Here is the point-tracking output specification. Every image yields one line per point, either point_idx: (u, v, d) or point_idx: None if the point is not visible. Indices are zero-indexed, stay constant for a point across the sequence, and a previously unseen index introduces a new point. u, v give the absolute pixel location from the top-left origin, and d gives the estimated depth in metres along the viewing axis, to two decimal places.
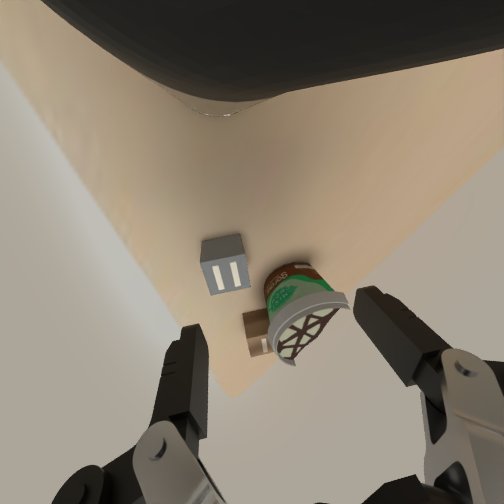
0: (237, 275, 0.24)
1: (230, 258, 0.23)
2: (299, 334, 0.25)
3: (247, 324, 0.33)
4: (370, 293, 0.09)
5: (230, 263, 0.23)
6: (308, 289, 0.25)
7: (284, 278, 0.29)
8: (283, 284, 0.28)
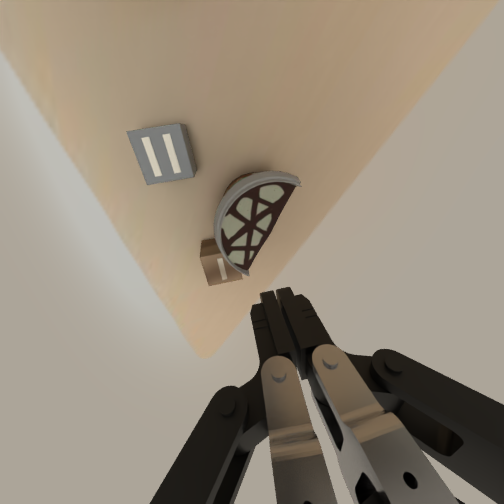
0: (174, 156, 0.21)
1: (162, 128, 0.20)
2: (248, 228, 0.22)
3: (204, 247, 0.30)
4: (282, 294, 0.10)
5: (163, 135, 0.20)
6: None
7: (238, 181, 0.25)
8: (235, 184, 0.25)
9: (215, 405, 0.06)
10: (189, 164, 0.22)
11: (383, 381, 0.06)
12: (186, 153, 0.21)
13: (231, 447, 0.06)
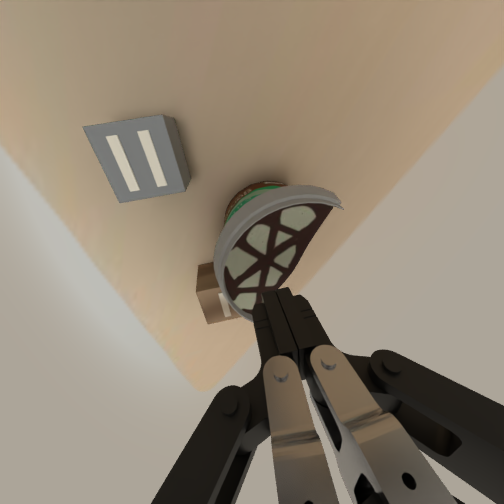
0: (156, 163, 0.15)
1: (137, 122, 0.13)
2: (263, 265, 0.15)
3: (201, 276, 0.23)
4: (281, 294, 0.10)
5: (139, 133, 0.14)
6: None
7: (246, 194, 0.19)
8: (243, 199, 0.18)
9: (217, 404, 0.06)
10: (178, 174, 0.15)
11: (381, 382, 0.06)
12: (174, 158, 0.15)
13: (234, 447, 0.06)
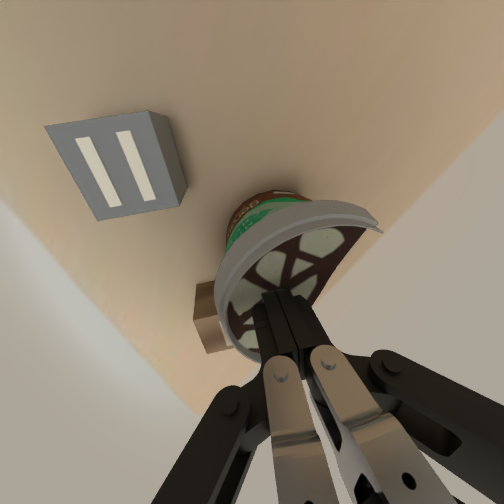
0: (141, 172, 0.12)
1: (115, 120, 0.10)
2: None
3: (200, 299, 0.20)
4: (281, 294, 0.10)
5: (118, 134, 0.11)
6: None
7: (253, 206, 0.16)
8: (249, 213, 0.15)
9: (217, 404, 0.06)
10: (170, 185, 0.12)
11: (381, 382, 0.06)
12: (164, 166, 0.12)
13: (234, 447, 0.06)
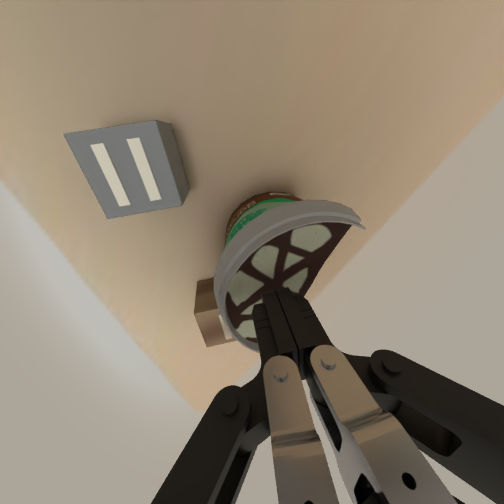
0: (148, 174, 0.13)
1: (126, 128, 0.12)
2: (270, 290, 0.14)
3: (200, 294, 0.21)
4: (281, 294, 0.10)
5: (128, 141, 0.12)
6: None
7: (250, 207, 0.17)
8: (246, 213, 0.16)
9: (217, 405, 0.06)
10: (174, 186, 0.14)
11: (381, 382, 0.06)
12: (169, 169, 0.13)
13: (234, 447, 0.06)
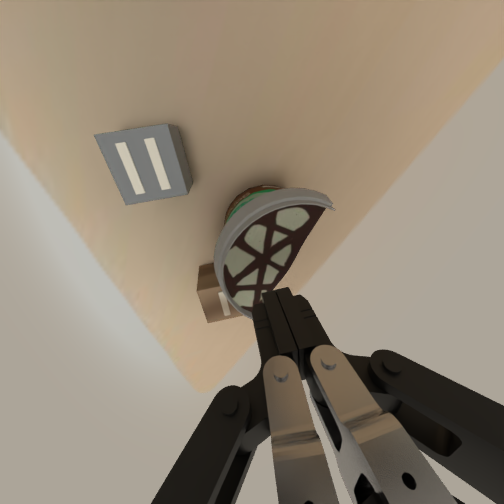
0: (160, 168, 0.16)
1: (143, 130, 0.15)
2: (260, 263, 0.16)
3: (202, 276, 0.24)
4: (281, 294, 0.10)
5: (145, 140, 0.15)
6: None
7: (245, 197, 0.20)
8: (242, 202, 0.19)
9: (217, 405, 0.06)
10: (181, 178, 0.16)
11: (381, 382, 0.06)
12: (177, 164, 0.16)
13: (234, 448, 0.06)
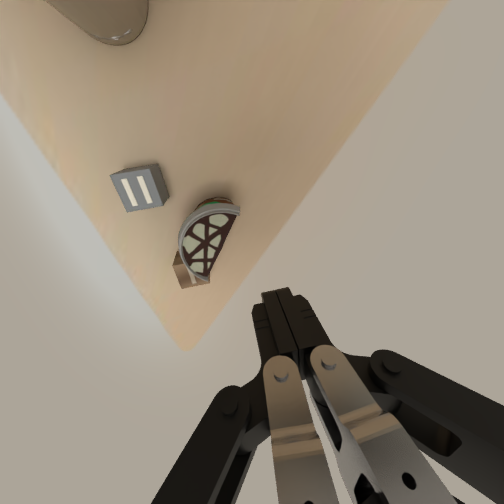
0: (146, 191, 0.28)
1: (136, 172, 0.27)
2: (204, 245, 0.29)
3: (177, 257, 0.36)
4: (281, 294, 0.10)
5: (137, 177, 0.27)
6: None
7: (200, 206, 0.32)
8: None
9: (217, 404, 0.06)
10: (159, 196, 0.29)
11: (381, 382, 0.06)
12: (156, 189, 0.28)
13: (234, 447, 0.06)
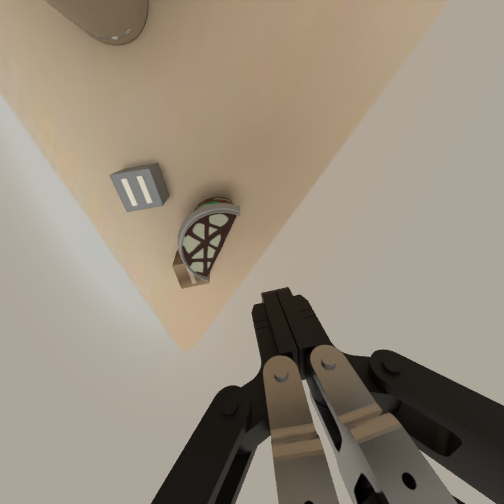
0: (146, 191, 0.28)
1: (136, 172, 0.27)
2: (204, 245, 0.29)
3: (177, 257, 0.36)
4: (281, 294, 0.10)
5: (137, 177, 0.27)
6: None
7: (200, 206, 0.32)
8: (197, 209, 0.31)
9: (217, 404, 0.06)
10: (158, 196, 0.29)
11: (381, 382, 0.06)
12: (156, 189, 0.28)
13: (234, 447, 0.06)
